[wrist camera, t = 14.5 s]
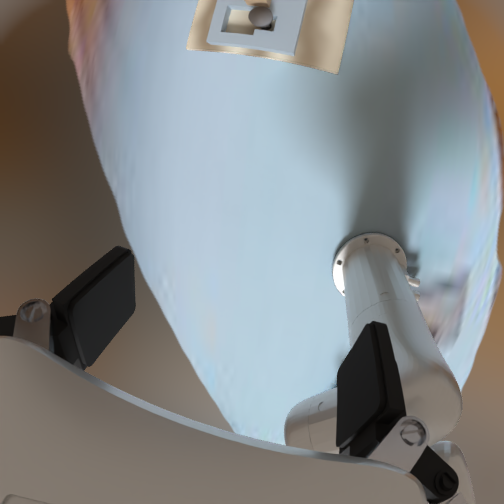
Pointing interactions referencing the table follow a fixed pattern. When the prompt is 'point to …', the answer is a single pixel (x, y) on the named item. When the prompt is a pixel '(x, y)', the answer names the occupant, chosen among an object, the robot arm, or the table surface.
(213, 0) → the board
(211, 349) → the table surface
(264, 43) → the panel
